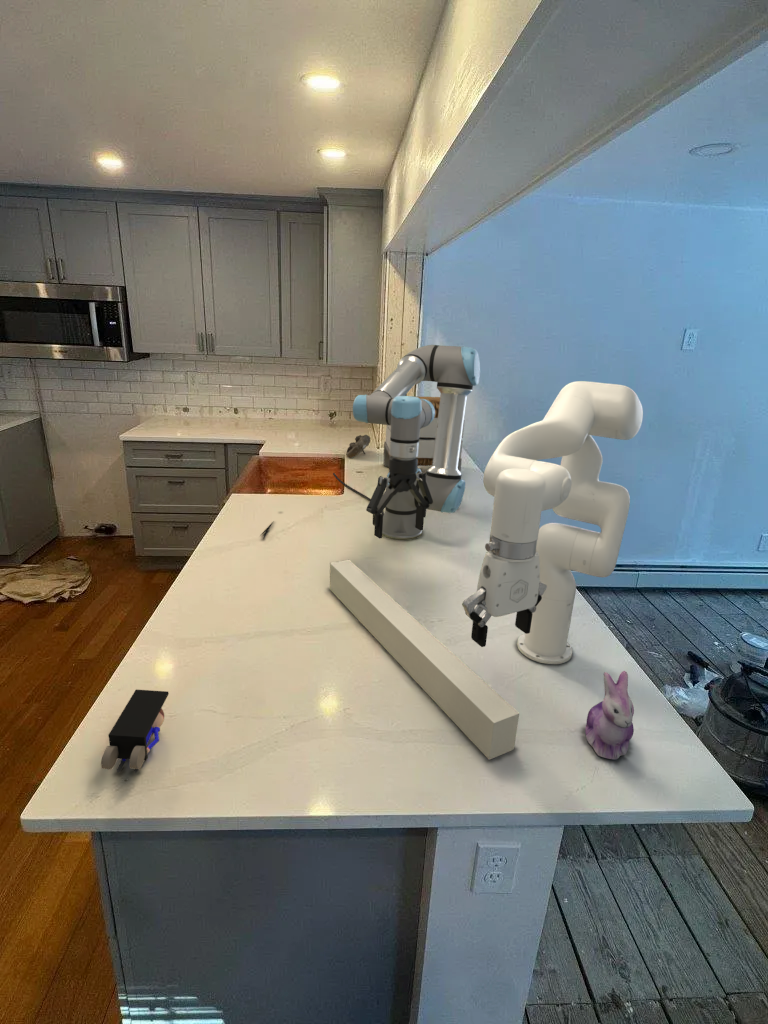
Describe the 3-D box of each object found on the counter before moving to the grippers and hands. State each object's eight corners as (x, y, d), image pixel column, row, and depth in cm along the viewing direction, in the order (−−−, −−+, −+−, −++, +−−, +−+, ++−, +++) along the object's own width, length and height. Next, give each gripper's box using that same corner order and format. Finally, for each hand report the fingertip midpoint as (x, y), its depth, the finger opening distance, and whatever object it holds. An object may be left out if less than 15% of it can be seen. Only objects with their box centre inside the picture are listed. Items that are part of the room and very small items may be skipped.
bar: (329, 589, 159) (329, 562, 156) (348, 585, 162) (348, 559, 159) (489, 760, 101) (494, 723, 98) (514, 749, 103) (519, 713, 101)
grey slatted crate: (382, 463, 289) (386, 382, 275) (445, 464, 293) (451, 384, 279) (390, 482, 257) (394, 392, 243) (460, 483, 261) (468, 394, 247)
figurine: (612, 770, 99) (628, 699, 94) (570, 732, 108) (582, 666, 103) (649, 753, 104) (666, 685, 99) (605, 718, 112) (619, 654, 107)
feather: (281, 515, 215) (284, 511, 215) (262, 541, 189) (264, 536, 188) (277, 512, 215) (280, 508, 215) (257, 538, 189) (260, 534, 188)
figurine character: (145, 787, 93) (174, 717, 107) (138, 755, 90) (169, 687, 103) (104, 787, 93) (138, 716, 107) (95, 754, 90) (132, 686, 103)
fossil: (346, 440, 314) (367, 425, 309) (357, 454, 317) (378, 439, 312) (340, 454, 295) (362, 438, 290) (351, 468, 298) (374, 453, 293)
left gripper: (370, 464, 138) (367, 545, 145) (449, 455, 152) (443, 529, 159) (355, 458, 144) (352, 535, 151) (432, 449, 157) (427, 521, 164)
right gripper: (484, 563, 85) (473, 660, 91) (568, 545, 93) (553, 635, 99) (455, 545, 91) (447, 636, 97) (536, 529, 99) (524, 615, 105)
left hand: (399, 532), depth 155 cm, fingers open, 13 cm apart
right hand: (500, 636), depth 98 cm, fingers open, 9 cm apart
